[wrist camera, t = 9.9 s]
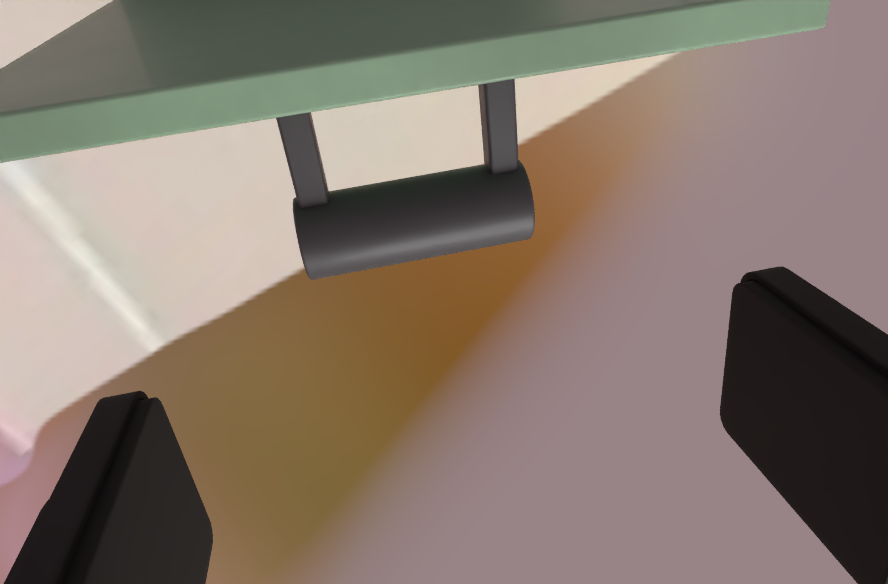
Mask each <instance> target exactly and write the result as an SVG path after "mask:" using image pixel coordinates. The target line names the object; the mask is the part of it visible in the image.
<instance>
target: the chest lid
mask: <svg viewBox="0 0 888 584" xmlns="http://www.w3.org/2000/svg"><path fill="white" fill-rule="evenodd" d="M829 5H830V0H113V1H112V2H110V3H108V4H107V5H105V6H103V7H102V8H100V9H99V10H97V11H95V12H94V13H92V14H90V15H89V16H87V17H85V18H84V19H82V20H80V21H79V22H77V23H76V24H74V25H72V26H71V27H69V28H67V29H66V30H64V31H62V32H61V33H59V34H57V35H56V36H54V37H53V38H51V39H49V40H48V41H46V42H44V43H43V44H41V45H39V46H38V47H36V48H34V49H33V50H31V51H30V52H28V53H26V54H25V55H23V56H21V57H20V58H18V59H16V60H15V61H13V62H11V63H10V64H8V65H6V66H5V67H3V68H2V69H0V163H3V162H9V161H15V160H21V159H27V158H33V157H39V156H46V155H52V154H58V153H64V152H70V151H76V150H82V149H88V148H94V147H101V146H107V145H113V144H119V143H125V142H131V141H137V140H143V139H149V138H156V137H162V136H168V135H174V134H180V133H186V132H192V131H198V130H205V129H211V128H217V127H223V126H229V125H235V124H241V123H247V122H253V121H260V120H266V119H272V118H276V119H277V123H278V127H279V130H280V134H281V138H282V142H283V146H284V150H285V154H286V158H287V162H288V166H289V170H290V173H291V177H292V181H293V185H294V189H295V193H296V198H294V199H293V214H294V222H295V228H296V234H297V239H298V243H299V248H300V252H301V256H302V260H303V263H304V267H305V270H306V273H307V275H308V277H309V278H310V279H311V280H314V279H319V278H324V277H330V276H335V275H341V274H346V273H351V272H356V271H362V270H367V269H373V268H377V267H383V266H389V265H394V264H399V263H404V262H410V261H415V260H420V259H426V258H431V257H436V256H441V255H447V254H452V253H458V252H463V251H468V250H474V249H478V248H484V247H490V246H495V245H500V244H506V243H511V242H516V241H521V240H527V239H529V238H531V237H532V235H533V232H534V223H535V215H534V214H535V213H534V203H533V196H532V191H531V186H530V182H529V179H528V176H527V173H526V170H525V168H524V166H523V165H522V163H521V162H520V160H518V144H517V123H516V103H515V82H514V79H516V78H522V77H529V76H535V75H541V74H547V73H553V72H559V71H565V70H571V69H578V68H584V67H590V66H596V65H602V64H608V63H614V62H620V61H626V60H633V59H639V58H645V57H651V56H657V55H663V54H669V53H675V52H681V51H687V50H694V49H699V48H706V47H711V46H718V45H724V44H730V43H736V42H743V41H749V40H754V39H761V38H767V37H773V36H779V35H785V34H792V33H798V32H804V31H810V30H816V29H821V28H823V27H824V26H825V24H826V20H827V15H828V10H829ZM474 85H478V86H479V99H480V112H481V124H482V137H483V150H484V163H485V164H483V165H478V166H472V167H466V168H461V169H455V170H449V171H443V172H438V173H432V174H426V175H421V176H415V177H409V178H404V179H398V180H392V181H387V182H381V183H375V184H369V185H364V186H358V187H352V188H347V189H341V190H335V191H330V192H329V191H328V187H327V183H326V178H325V174H324V169H323V165H322V160H321V156H320V151H319V147H318V143H317V138H316V134H315V129H314V125H313V120H312V116H311V112H315V111H321V110H327V109H333V108H339V107H345V106H351V105H357V104H364V103H370V102H376V101H382V100H388V99H394V98H400V97H406V96H412V95H419V94H425V93H431V92H437V91H443V90H449V89H455V88H461V87H467V86H474Z"/></svg>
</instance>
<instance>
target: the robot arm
mask: <svg viewBox="0 0 888 584" xmlns="http://www.w3.org/2000/svg"><path fill="white" fill-rule="evenodd" d="M720 416H721V421H722V424H723V426H724V428H725V430H726V431H727V433H728V434H729V435H730V436H731V438H732V439H733V440H734V441H735V442H736V443H737V444H738V446H739V447H740V448H741V449H742V450H743V451H744V453H745V454H746V455H747V456H748V457H749V458H750V460H751V461H752V462H753V463H754V464H755V465H756V466H757V468H758V469H759V470H760V471H761V472H762V473H763V474H764V476H765V477H766V478H767V479H768V480H769V481H770V483H771V484H772V485H773V486H774V487H775V488H776V490H777V491H778V492H779V493H780V494H781V495H782V496H783V498H784V499H785V500H786V501H787V502H788V504H790V506H791V507H792V508H793V509H794V510H795V512H796V513H797V514H798V515H799V516H800V517H801V518H802V520H803V521H804V522H805V523H806V524H807V525H808V527H809V528H810V529H811V530H812V531H813V532H814V533H815V535H816V536H817V537H818V538H819V539H820V540H821V542H822V543H823V544H824V545H825V546H826V547H827V549H828V550H829V551H830V552H831V553H832V554H833V556H835V558H836V559H837V560H838V561H839V562H840V564H841V565H842V566H843V567H844V568H845V569H846V571H847V572H848V573H849V574H850V575H851V576H852V577H853V579H854V580H855V581H856V582H857V583H858V584H888V334H886V333H884V332H883V331H881V330H880V329H878V328H877V327H875V326H874V325H872V324H871V323H869V322H868V321H866V320H865V319H863V318H862V317H860V316H859V315H857V314H856V313H854V312H852V311H851V310H850V309H848V308H846V307H845V306H843V305H842V304H840V303H839V302H837V301H836V300H834V299H833V298H831V297H830V296H828V295H827V294H825V293H824V292H822V291H821V290H819V289H817V288H816V287H814V286H813V285H811V284H810V283H808V282H807V281H805V280H804V279H802V278H801V277H799V276H798V275H796V274H795V273H793V272H792V271H790V270H789V269H786V268H785V267H775V268H769V269H764V270H759V271H754V272H749V273H746V274H745V275H744V276H743V278H742V279H741V283H738V284H736V285H735V287H734V288H733V292H732V302H731V311H730V320H729V330H728V339H727V349H726V358H725V368H724V377H723V387H722V396H721V406H720ZM212 543H213V534H212V527H211V523H210V520H209V517H208V515H207V512H206V510H205V507H204V505H203V503H202V500H201V498H200V495H199V493H198V490H197V488H196V485H195V483H194V480H193V478H192V476H191V473H190V471H189V468H188V466H187V464H186V461H185V458H184V456H183V454H182V451H181V449H180V446H179V444H178V441H177V439H176V437H175V434H174V432H173V429H172V427H171V424H170V422H169V419H168V417H167V415H166V412H165V410H164V407H163V405H162V403H161V401H160V400H159V399H158V398H156V397H155V398H150V399H148V397H147V395H146V394H145V393H144V392H142V391H137V392H131V393H126V394H121V395H116V396H111V397H105V398H102V399H100V400H99V402H98V403H97V405H96V407H95V409H94V411H93V413H92V415H91V417H90V419H89V421H88V423H87V425H86V427H85V429H84V431H83V433H82V435H81V437H80V439H79V441H78V443H77V445H76V447H75V449H74V451H73V453H72V455H71V457H70V459H69V461H68V463H67V465H66V467H65V469H64V471H63V473H62V475H61V477H60V479H59V481H58V483H57V485H56V487H55V489H54V491H53V493H52V495H51V497H50V499H49V500H48V501H47V502H46V504H45V505H44V506H43V508H42V509H41V511H40V513H39V515H38V517H37V519H36V521H35V523H34V525H33V527H32V529H31V531H30V533H29V535H28V537H27V539H26V541H25V543H24V545H23V547H22V549H21V551H20V553H19V555H18V557H17V559H16V561H15V563H14V565H13V567H12V568H11V571H10V572H9V574H8V576H7V578H6V580H5V582H4V584H205V583H206V578H207V572H208V566H209V561H210V555H211V550H212Z"/></svg>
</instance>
